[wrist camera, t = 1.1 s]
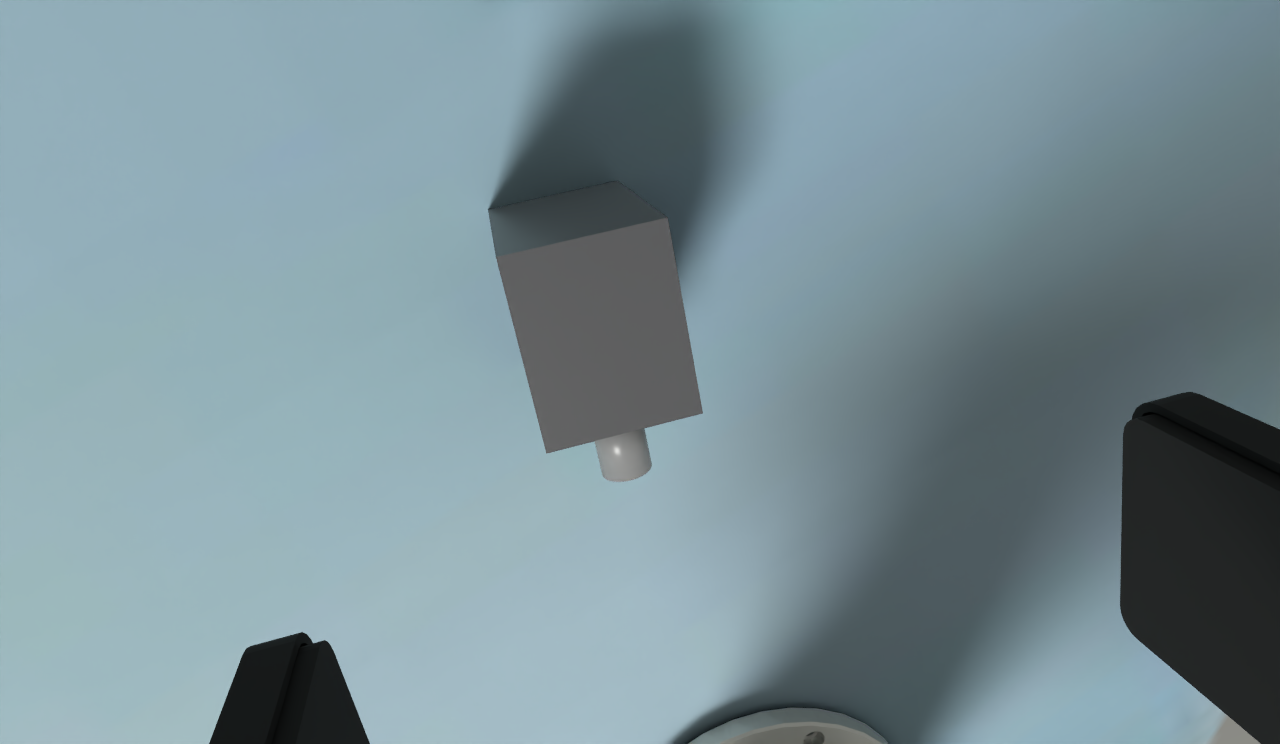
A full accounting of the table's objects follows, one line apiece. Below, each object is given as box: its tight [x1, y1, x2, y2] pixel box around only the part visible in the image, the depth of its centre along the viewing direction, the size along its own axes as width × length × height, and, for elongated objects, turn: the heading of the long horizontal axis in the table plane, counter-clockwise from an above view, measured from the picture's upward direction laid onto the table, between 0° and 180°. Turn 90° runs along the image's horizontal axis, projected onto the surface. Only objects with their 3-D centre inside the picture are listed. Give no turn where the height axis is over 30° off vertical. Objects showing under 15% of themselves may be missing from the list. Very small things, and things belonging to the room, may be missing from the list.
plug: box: [488, 180, 703, 482], centre depth 24 cm, size 7×4×7 cm, turn 11°
